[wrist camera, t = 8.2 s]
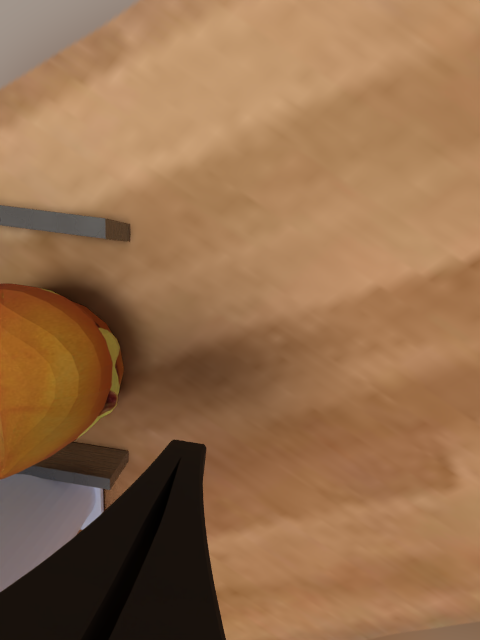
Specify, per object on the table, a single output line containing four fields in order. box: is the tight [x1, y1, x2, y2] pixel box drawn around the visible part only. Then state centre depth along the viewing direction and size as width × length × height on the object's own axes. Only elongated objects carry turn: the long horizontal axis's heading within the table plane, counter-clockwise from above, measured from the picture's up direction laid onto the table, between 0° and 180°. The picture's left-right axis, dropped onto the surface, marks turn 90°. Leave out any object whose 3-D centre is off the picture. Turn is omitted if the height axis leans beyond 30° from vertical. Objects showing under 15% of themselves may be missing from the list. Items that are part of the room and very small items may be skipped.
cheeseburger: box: [0, 284, 124, 480], centre depth 14 cm, size 10×11×10 cm
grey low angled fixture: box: [0, 205, 130, 490], centre depth 16 cm, size 10×18×2 cm, turn 173°
